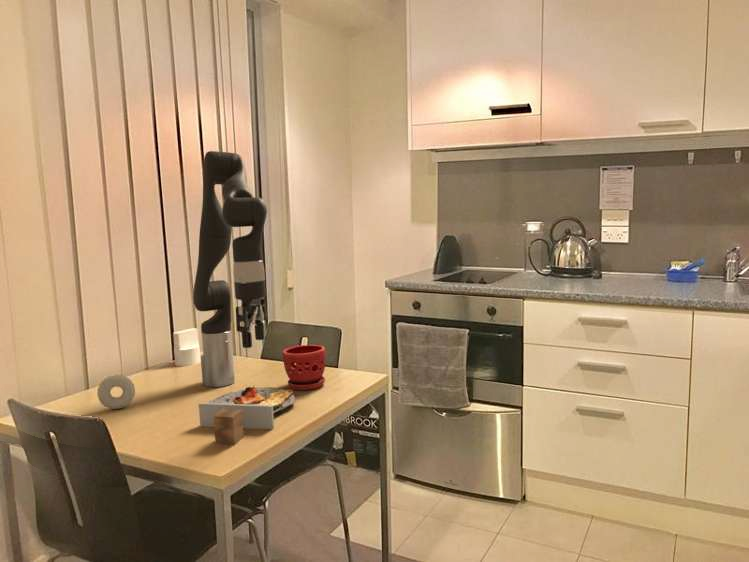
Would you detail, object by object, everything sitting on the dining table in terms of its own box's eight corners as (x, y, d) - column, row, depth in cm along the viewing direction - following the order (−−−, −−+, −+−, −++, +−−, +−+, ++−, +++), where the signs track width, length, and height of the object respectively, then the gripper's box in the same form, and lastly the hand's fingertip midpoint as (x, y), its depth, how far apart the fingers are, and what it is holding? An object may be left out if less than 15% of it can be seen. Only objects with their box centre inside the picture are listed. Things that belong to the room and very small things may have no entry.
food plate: (251, 389, 185) (250, 378, 185) (312, 400, 174) (311, 388, 173) (189, 417, 164) (188, 405, 164) (253, 432, 152) (252, 419, 152)
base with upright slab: (190, 358, 227) (187, 327, 225) (205, 361, 222) (203, 329, 220) (170, 364, 219) (167, 332, 218) (185, 367, 214) (182, 334, 213)
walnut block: (215, 444, 144) (213, 416, 143) (224, 436, 149) (222, 409, 148) (234, 445, 143) (232, 417, 142) (243, 437, 148) (241, 409, 147)
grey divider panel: (200, 426, 156) (198, 403, 155) (202, 424, 157) (200, 402, 156) (272, 429, 152) (271, 406, 151) (274, 427, 153) (272, 405, 152)
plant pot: (329, 379, 193) (328, 343, 192) (322, 392, 180) (320, 353, 179) (290, 379, 194) (288, 343, 193) (280, 392, 182) (277, 354, 180)
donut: (98, 413, 169) (95, 378, 167) (99, 409, 172) (96, 375, 171) (136, 408, 172) (133, 374, 171) (136, 404, 175) (133, 371, 174)
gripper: (246, 276, 155) (250, 337, 157) (223, 283, 141) (228, 350, 143) (273, 275, 154) (277, 337, 156) (253, 282, 140) (257, 350, 142)
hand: (253, 343), depth 149 cm, fingers open, 8 cm apart
